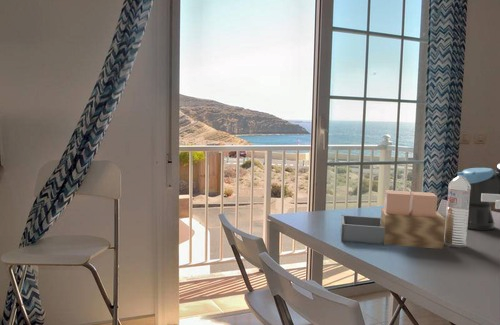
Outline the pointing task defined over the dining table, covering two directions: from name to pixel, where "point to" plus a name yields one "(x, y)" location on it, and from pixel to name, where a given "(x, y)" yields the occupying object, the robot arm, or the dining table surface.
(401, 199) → the pink block
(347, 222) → the tray
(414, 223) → the zigzag patterned block
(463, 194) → the water bottle
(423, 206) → the salmon pink cube
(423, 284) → the dining table surface
